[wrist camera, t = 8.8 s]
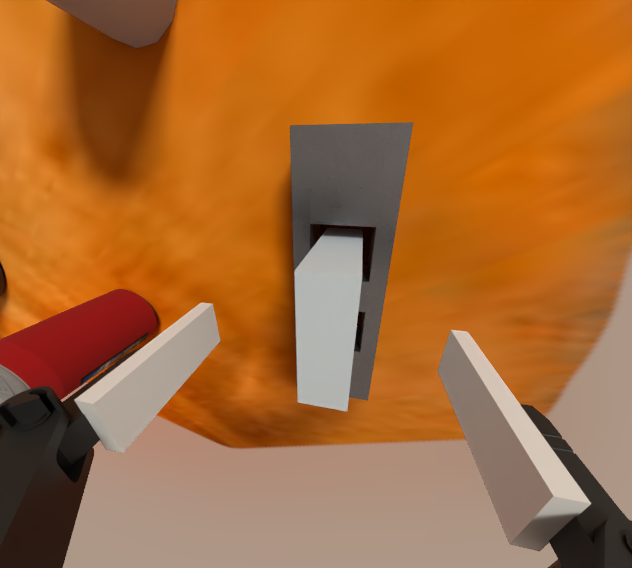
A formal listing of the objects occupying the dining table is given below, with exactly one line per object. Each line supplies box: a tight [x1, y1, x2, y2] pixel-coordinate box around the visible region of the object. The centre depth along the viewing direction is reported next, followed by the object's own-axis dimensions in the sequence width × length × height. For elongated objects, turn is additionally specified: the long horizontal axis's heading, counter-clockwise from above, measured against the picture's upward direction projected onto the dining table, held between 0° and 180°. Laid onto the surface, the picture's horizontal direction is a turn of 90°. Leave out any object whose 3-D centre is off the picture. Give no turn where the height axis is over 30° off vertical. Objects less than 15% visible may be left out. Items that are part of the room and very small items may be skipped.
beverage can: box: [0, 289, 157, 404], centre depth 23 cm, size 7×7×12 cm
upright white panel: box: [294, 228, 363, 411], centre depth 16 cm, size 9×3×10 cm, turn 178°
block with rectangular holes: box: [290, 122, 413, 400], centre depth 19 cm, size 7×22×4 cm, turn 178°
